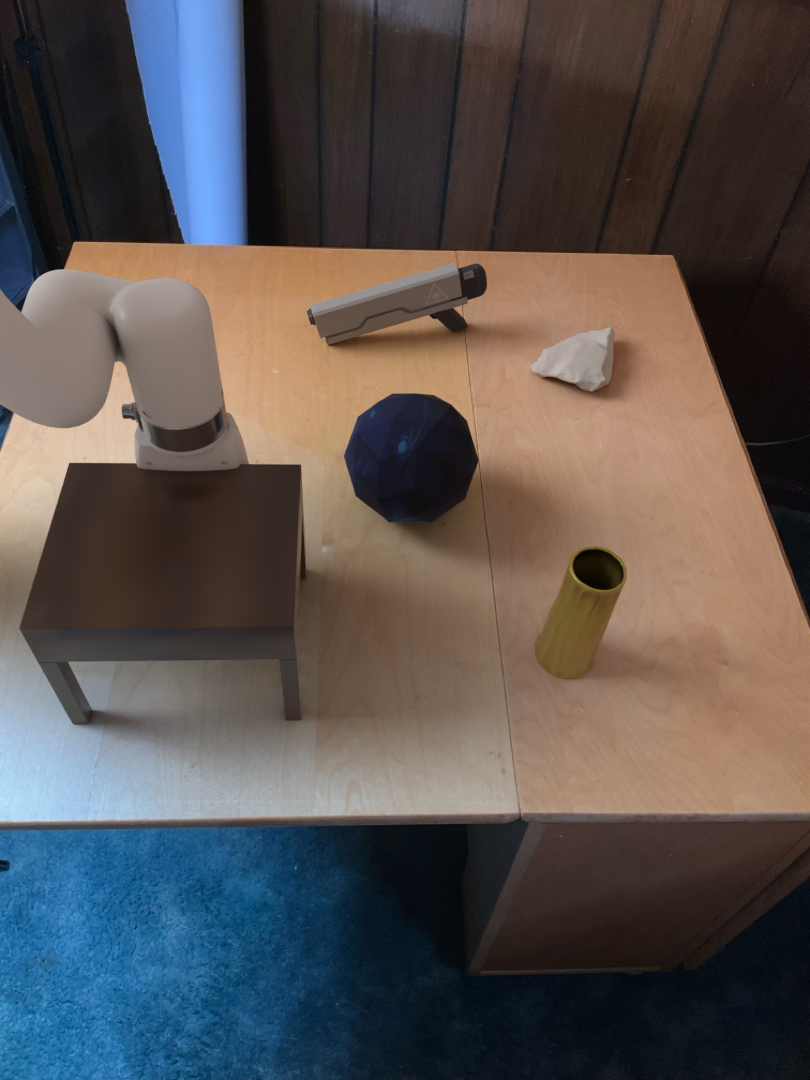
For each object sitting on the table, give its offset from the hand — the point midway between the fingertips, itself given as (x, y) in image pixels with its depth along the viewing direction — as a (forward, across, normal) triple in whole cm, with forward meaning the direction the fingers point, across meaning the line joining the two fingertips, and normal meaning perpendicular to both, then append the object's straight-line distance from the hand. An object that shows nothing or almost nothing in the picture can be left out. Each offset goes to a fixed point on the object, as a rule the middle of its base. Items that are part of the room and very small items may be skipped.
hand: (211, 544), depth 86 cm
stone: (+3, +48, +34) cm, 59 cm away
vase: (+2, +37, -13) cm, 39 cm away
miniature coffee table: (+2, 0, -11) cm, 11 cm away
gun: (+2, +22, +40) cm, 46 cm away
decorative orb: (+2, +22, +8) cm, 23 cm away
